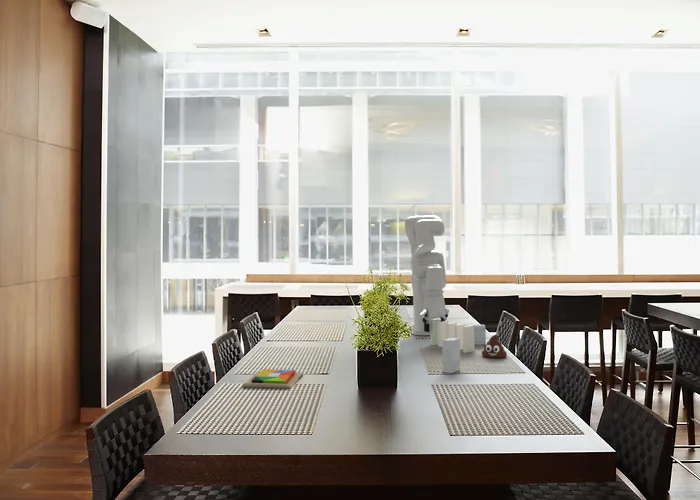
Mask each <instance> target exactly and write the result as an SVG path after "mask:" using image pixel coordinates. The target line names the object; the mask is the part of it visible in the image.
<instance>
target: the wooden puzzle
mask: <svg viewBox="0 0 700 500" xmlns="http://www.w3.org/2000/svg"><path fill="white" fill-rule="evenodd" d="M303 375H304V372H302V371H296V370H295V369H278V368H277V369H274V368H272V369H271V368H270V369H269V368H263V369H261V370H260V371H259V370H258V371H256V373H254V374H253V375H252V376H251V377H250V378H249V379H248V380H247V382H244V383H243V384H242V385H241V386H242V388H259V389H261V388H263V389H264V388H265V389H291V388H293V387H294V386H296V383H297V382H298V381H299V380H300V378H301V377H303Z"/></svg>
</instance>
